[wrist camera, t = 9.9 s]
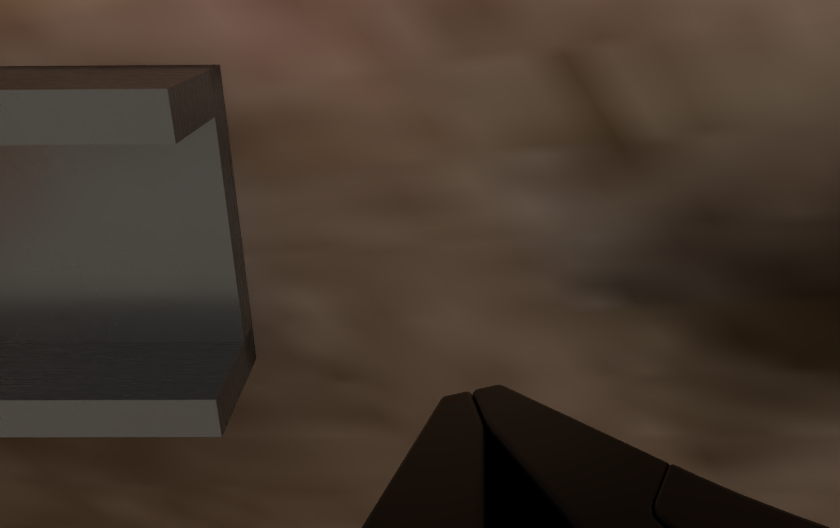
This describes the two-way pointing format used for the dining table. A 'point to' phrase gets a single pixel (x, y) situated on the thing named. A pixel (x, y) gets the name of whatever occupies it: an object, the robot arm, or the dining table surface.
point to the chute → (119, 254)
